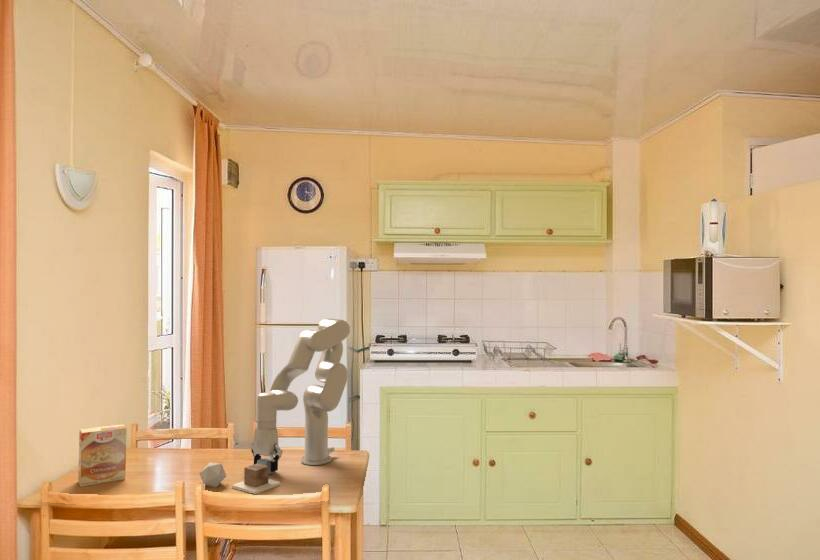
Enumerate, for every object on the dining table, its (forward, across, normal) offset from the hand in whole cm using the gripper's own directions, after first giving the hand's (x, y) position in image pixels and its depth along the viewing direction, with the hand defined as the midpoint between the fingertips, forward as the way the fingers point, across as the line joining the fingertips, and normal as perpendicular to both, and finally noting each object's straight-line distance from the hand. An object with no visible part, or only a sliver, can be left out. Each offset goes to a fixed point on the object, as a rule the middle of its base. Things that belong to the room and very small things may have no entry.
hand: (265, 468), depth 219 cm
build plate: (+2, +9, -13) cm, 16 cm away
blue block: (+2, 0, 0) cm, 2 cm away
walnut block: (+1, +9, -13) cm, 16 cm away
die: (+2, -5, -21) cm, 21 cm away
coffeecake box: (+2, -43, -41) cm, 59 cm away
